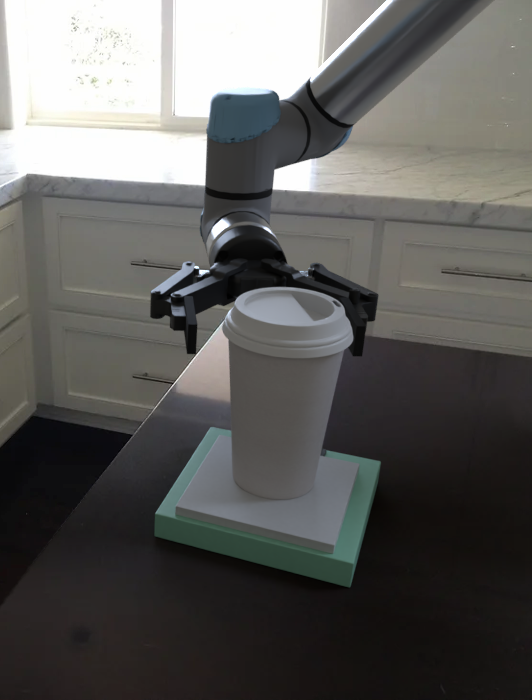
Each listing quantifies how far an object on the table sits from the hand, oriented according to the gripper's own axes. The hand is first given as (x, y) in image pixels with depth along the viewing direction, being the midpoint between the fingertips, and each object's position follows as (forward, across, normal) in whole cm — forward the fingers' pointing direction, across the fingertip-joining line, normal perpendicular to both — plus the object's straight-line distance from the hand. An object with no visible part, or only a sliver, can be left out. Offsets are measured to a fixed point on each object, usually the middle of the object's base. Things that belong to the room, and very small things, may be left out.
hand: (275, 340), depth 71 cm
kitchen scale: (+6, 0, -13) cm, 14 cm away
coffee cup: (+6, 0, -10) cm, 11 cm away
